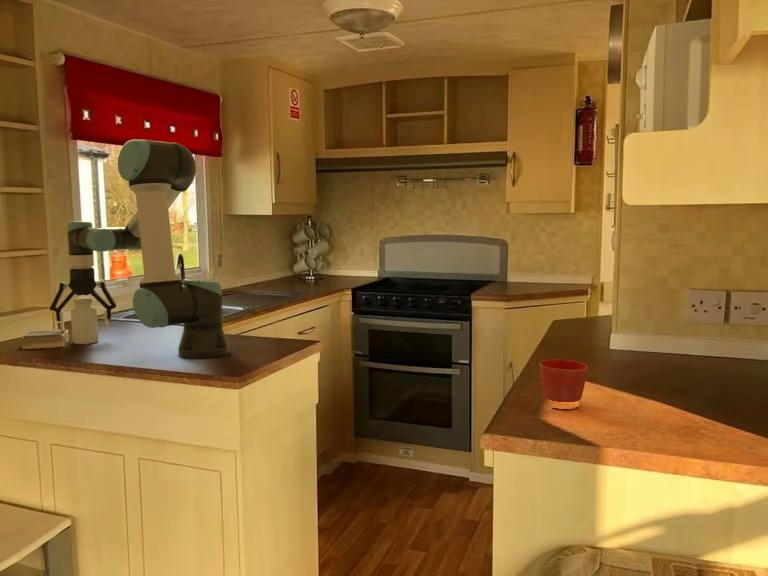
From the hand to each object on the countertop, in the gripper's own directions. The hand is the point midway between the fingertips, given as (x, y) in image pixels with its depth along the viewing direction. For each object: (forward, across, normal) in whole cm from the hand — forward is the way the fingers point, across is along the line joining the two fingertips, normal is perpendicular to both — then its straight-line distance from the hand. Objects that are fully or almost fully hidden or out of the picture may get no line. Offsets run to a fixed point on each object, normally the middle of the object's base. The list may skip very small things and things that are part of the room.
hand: (84, 330), depth 220 cm
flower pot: (+3, -114, +112) cm, 159 cm away
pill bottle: (+4, 0, 0) cm, 4 cm away
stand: (+4, +12, 0) cm, 13 cm away
